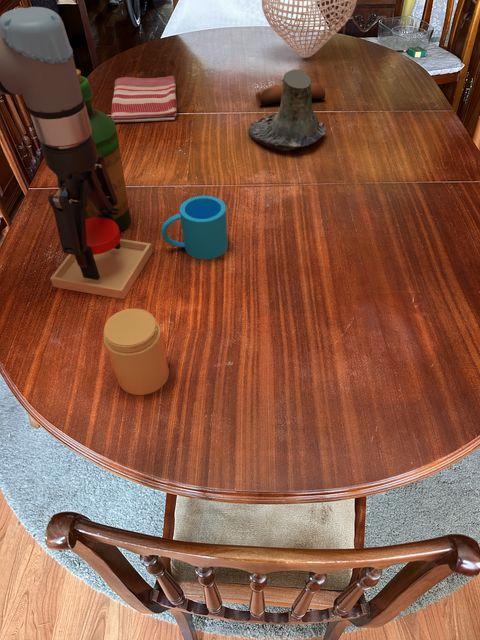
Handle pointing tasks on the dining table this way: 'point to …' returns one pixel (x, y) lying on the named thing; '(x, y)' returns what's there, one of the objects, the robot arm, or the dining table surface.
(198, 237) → the mug
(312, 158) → the dining table surface
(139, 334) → the jar
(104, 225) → the lid
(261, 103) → the sunglasses case
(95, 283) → the tray
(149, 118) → the dish towel
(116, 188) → the bottle
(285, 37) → the heart
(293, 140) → the tree stump
